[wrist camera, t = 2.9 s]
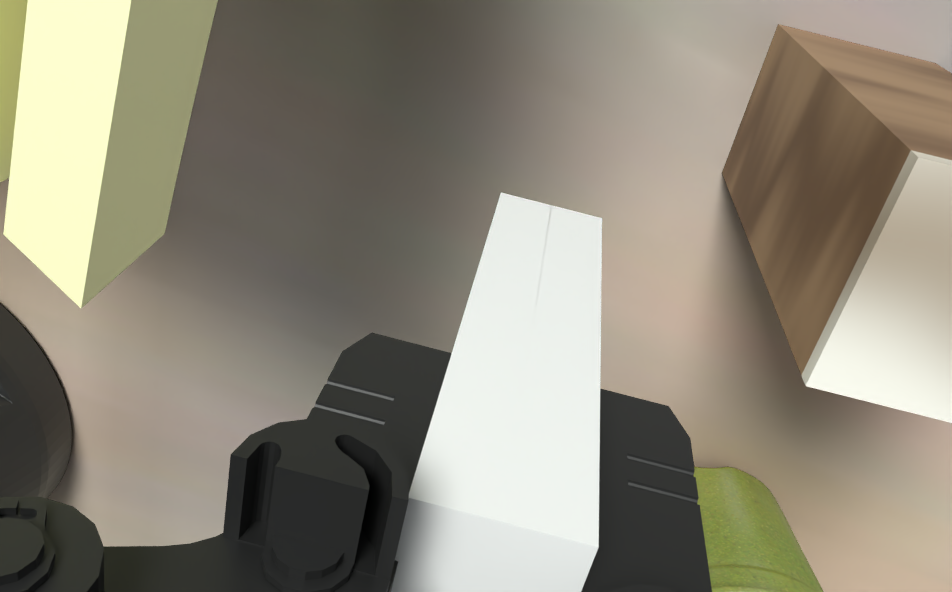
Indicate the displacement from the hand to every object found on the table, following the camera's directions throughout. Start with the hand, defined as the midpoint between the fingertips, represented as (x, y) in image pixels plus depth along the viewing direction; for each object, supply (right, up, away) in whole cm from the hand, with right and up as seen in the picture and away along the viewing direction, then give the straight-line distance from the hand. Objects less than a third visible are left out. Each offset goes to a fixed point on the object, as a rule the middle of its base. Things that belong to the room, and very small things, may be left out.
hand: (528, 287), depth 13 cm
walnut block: (+10, +6, +15) cm, 19 cm away
